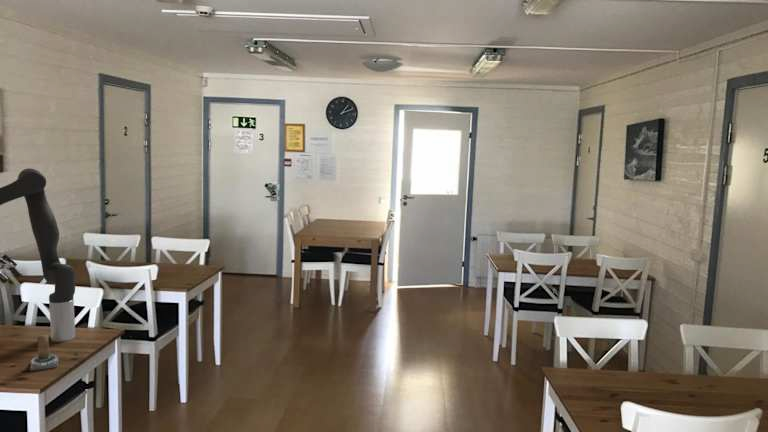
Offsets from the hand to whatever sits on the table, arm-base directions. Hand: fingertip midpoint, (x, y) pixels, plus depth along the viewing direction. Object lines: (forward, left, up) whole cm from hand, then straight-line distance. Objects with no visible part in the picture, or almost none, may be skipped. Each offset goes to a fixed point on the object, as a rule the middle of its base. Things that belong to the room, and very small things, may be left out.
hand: (13, 278), depth 220 cm
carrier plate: (+10, +9, -33) cm, 35 cm away
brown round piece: (+10, +9, -31) cm, 34 cm away
